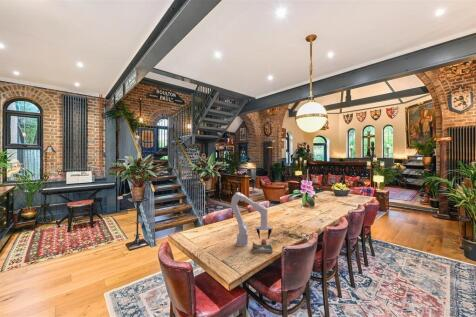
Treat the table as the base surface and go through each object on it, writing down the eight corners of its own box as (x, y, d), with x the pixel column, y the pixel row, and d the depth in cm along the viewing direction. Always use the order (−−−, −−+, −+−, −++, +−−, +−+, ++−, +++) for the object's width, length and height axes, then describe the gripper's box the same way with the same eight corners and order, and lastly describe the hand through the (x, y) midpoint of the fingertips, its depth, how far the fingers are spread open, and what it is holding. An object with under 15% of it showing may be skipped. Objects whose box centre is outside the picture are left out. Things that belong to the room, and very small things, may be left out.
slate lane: (253, 252, 159) (253, 246, 159) (253, 247, 167) (253, 242, 167) (272, 252, 158) (272, 247, 158) (271, 247, 166) (271, 242, 166)
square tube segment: (261, 246, 168) (261, 244, 168) (260, 244, 173) (260, 242, 173) (266, 246, 168) (266, 244, 168) (266, 244, 173) (266, 242, 173)
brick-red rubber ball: (261, 244, 169) (261, 240, 168) (261, 242, 173) (261, 237, 172) (266, 244, 168) (266, 240, 168) (265, 242, 172) (266, 238, 172)
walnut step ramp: (253, 252, 159) (253, 245, 159) (252, 247, 167) (252, 241, 167) (260, 252, 159) (260, 245, 159) (259, 247, 167) (259, 241, 167)
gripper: (255, 223, 166) (255, 240, 167) (273, 223, 166) (273, 240, 166) (255, 220, 173) (255, 236, 174) (272, 220, 173) (272, 236, 173)
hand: (263, 238), depth 170 cm, fingers open, 7 cm apart
